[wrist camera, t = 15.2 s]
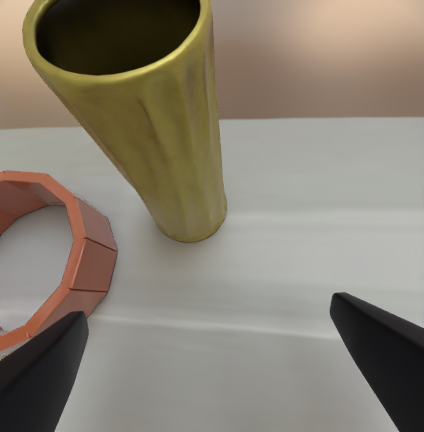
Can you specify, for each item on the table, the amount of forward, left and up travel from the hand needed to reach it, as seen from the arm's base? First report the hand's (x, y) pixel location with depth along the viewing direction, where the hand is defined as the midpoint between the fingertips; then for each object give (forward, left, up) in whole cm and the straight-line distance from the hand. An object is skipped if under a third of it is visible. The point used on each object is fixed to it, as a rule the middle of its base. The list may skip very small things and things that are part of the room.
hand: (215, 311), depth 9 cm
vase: (+7, +3, -9) cm, 12 cm away
